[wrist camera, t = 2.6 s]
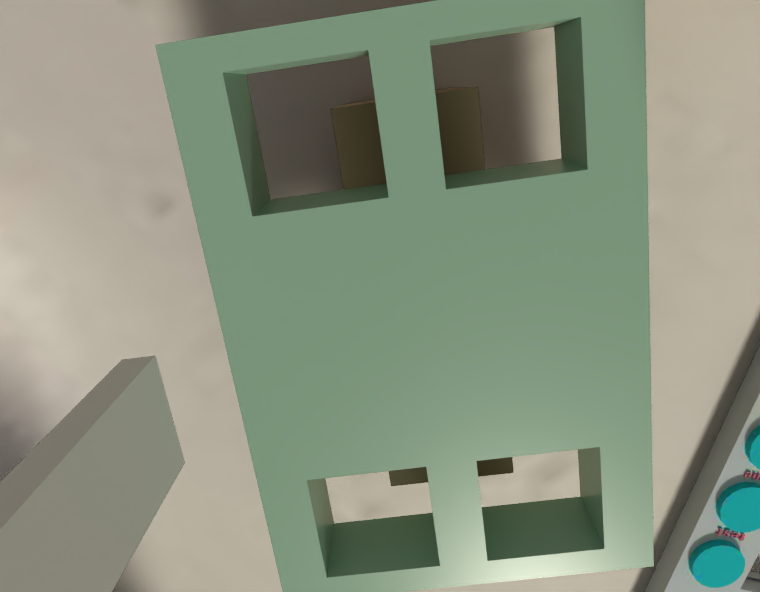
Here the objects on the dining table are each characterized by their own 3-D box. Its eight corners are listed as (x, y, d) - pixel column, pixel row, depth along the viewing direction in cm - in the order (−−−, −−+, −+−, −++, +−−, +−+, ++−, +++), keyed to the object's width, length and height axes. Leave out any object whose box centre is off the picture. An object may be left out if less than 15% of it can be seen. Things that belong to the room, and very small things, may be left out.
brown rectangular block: (391, 401, 27) (391, 486, 21) (346, 103, 23) (330, 109, 17) (487, 389, 27) (513, 472, 21) (456, 87, 23) (477, 87, 17)
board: (297, 547, 22) (285, 603, 20) (188, 51, 17) (155, 44, 15) (624, 512, 21) (653, 566, 19) (608, -16, 16) (644, -33, 14)
